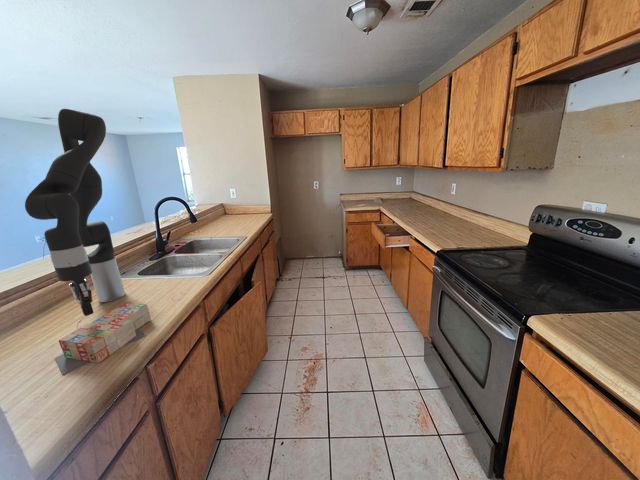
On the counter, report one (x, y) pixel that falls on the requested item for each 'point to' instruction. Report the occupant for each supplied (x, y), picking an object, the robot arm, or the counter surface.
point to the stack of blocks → (105, 333)
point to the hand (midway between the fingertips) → (88, 314)
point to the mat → (72, 364)
